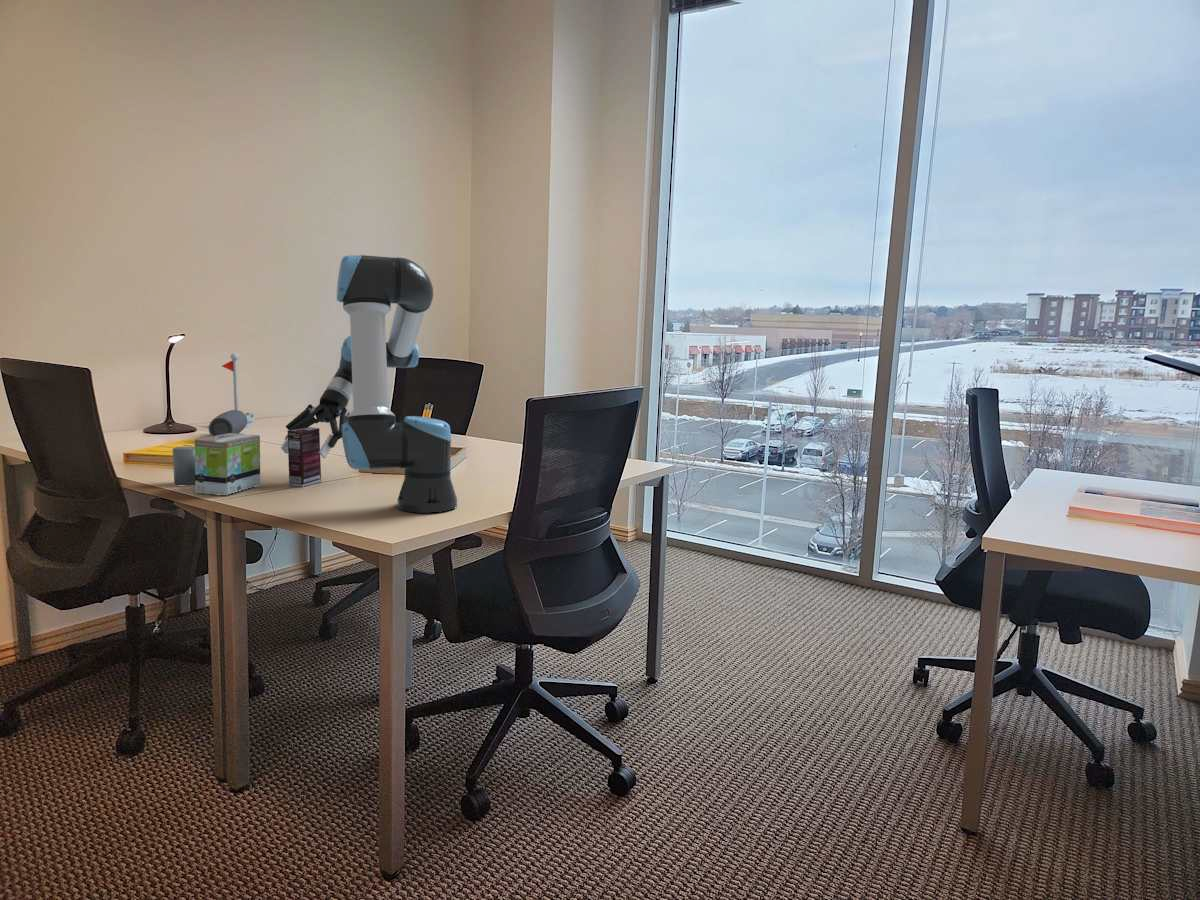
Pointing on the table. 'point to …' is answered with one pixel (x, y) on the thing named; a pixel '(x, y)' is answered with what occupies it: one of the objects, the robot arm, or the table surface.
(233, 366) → the flag stand
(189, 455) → the upright grey block
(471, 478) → the table surface
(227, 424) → the bluetooth speaker
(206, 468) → the tea box
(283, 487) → the table surface
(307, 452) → the supplement box
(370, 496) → the table surface
